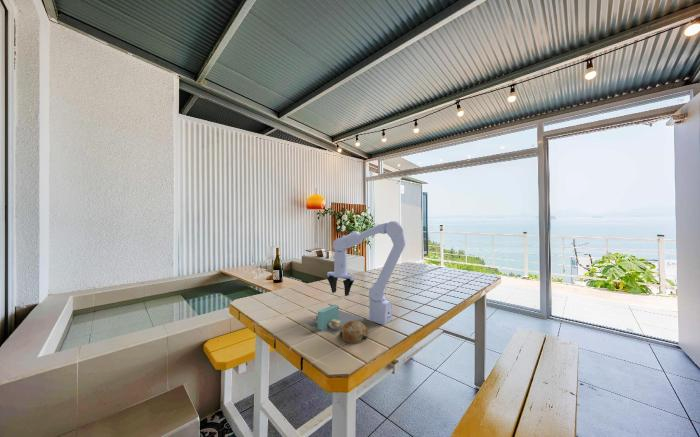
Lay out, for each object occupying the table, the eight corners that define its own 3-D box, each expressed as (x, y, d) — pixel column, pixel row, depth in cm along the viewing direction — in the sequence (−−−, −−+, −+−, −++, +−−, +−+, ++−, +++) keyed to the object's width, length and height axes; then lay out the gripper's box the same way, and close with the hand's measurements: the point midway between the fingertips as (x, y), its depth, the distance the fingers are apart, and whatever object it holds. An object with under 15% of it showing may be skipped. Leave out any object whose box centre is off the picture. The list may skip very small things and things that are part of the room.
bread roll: (354, 356, 84) (362, 338, 83) (332, 337, 89) (340, 319, 88) (367, 344, 93) (375, 327, 91) (347, 327, 98) (354, 310, 96)
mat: (364, 318, 108) (364, 317, 108) (334, 335, 92) (334, 334, 92) (336, 310, 118) (336, 309, 118) (305, 324, 102) (305, 323, 102)
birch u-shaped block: (341, 328, 97) (341, 321, 97) (337, 330, 95) (337, 322, 96) (319, 321, 104) (319, 314, 104) (316, 322, 103) (316, 315, 103)
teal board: (338, 322, 103) (338, 305, 103) (322, 330, 95) (322, 312, 95) (334, 320, 105) (334, 304, 105) (317, 329, 97) (317, 311, 97)
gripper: (322, 263, 113) (322, 293, 113) (347, 267, 105) (347, 299, 104) (332, 261, 119) (332, 289, 119) (357, 265, 110) (357, 295, 110)
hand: (340, 293), depth 112 cm, fingers open, 7 cm apart
